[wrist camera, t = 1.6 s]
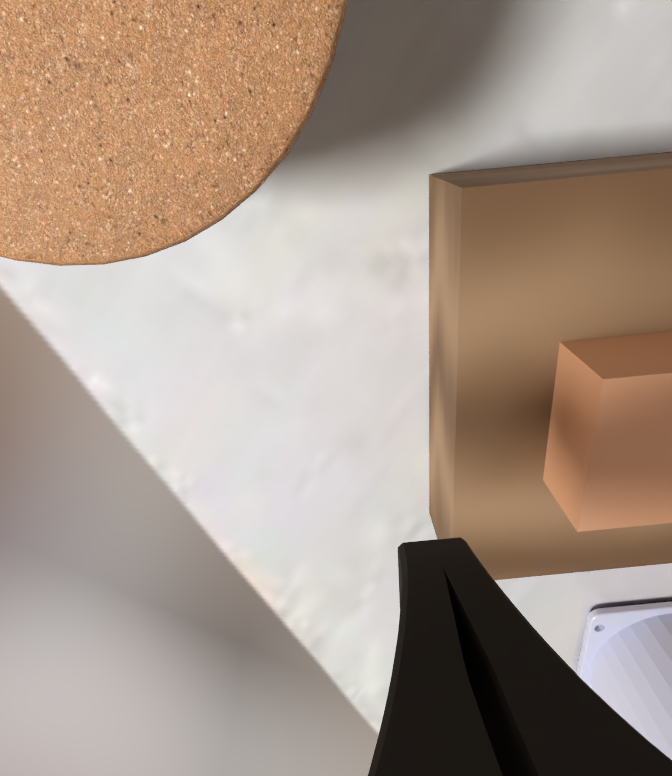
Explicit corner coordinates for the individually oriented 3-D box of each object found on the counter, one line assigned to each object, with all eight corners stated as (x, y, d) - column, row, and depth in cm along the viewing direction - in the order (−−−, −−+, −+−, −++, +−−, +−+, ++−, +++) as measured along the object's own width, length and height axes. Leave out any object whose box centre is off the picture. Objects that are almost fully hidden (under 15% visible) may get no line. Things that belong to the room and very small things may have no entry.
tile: (690, 465, 17) (746, 515, 15) (542, 479, 17) (577, 531, 15) (729, 325, 15) (802, 360, 13) (559, 341, 15) (603, 379, 13)
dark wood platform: (764, 481, 23) (847, 546, 19) (429, 513, 23) (451, 584, 19) (891, 131, 17) (1050, 132, 13) (429, 174, 17) (461, 187, 13)
